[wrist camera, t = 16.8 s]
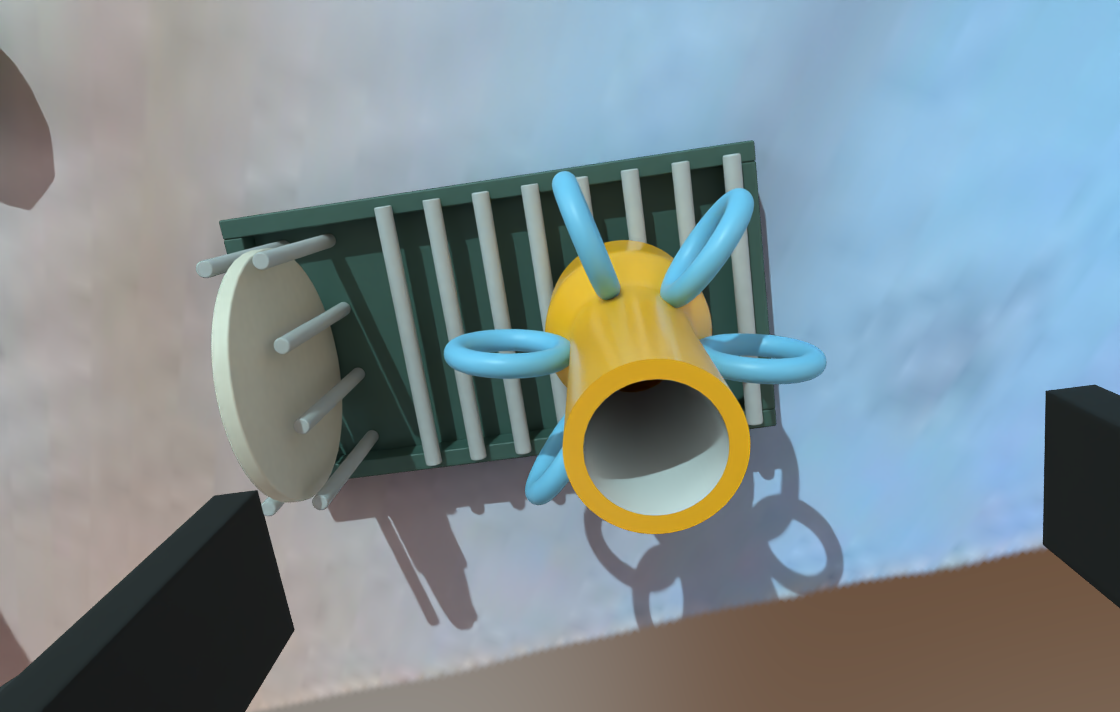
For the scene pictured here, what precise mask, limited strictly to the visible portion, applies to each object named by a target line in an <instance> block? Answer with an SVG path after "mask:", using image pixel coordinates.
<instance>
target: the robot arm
mask: <svg viewBox="0 0 1120 712" xmlns="http://www.w3.org/2000/svg"><path fill="white" fill-rule="evenodd" d="M1043 545H1044V546H1045V547H1046V548H1048V549H1049V550H1050V551H1051V552H1052V553H1054V554H1055V555H1056V556H1057V557H1059V558H1060V559H1061V560H1062V561H1063V562H1065V563H1066V564H1067V565H1068V566H1069V567H1071V568H1072V569H1073V570H1074V571H1075V572H1077V573H1078V574H1079V575H1080V576H1082V577H1083V578H1084V579H1085V580H1086V581H1088V582H1089V583H1090V584H1091V585H1092V586H1094V587H1095V588H1096V589H1097V590H1098V591H1100V592H1101V593H1102V594H1103V595H1105V596H1106V597H1107V598H1108V599H1109V600H1111V601H1112V602H1113V603H1114V604H1115V605H1117V606H1118V607H1119V608H1120V395H1118V394H1115V393H1113V392H1111V391H1108V390H1106V389H1104V388H1101V387H1099V386H1097V385H1089V386H1081V387H1073V388H1065V389H1057V390H1049V391H1046V406H1045V460H1044V513H1043ZM293 632H294V626H293V622H292V619H291V615H290V611H289V607H288V604H287V600H286V596H285V592H284V588H283V585H282V581H281V577H280V573H279V570H278V566H277V562H276V558H275V555H274V551H273V547H272V543H271V540H270V536H269V532H268V528H267V525H266V521H265V517H264V513H263V509H262V506H261V502H260V498H259V494H258V491H257V490H255V491H247V492H239V493H231V494H224V495H216V496H213V497H212V498H211V499H210V500H209V501H208V502H207V503H206V504H205V505H204V506H203V507H201V508H200V509H199V510H198V511H197V512H196V513H195V514H194V515H193V516H192V517H191V518H189V519H188V520H187V521H186V522H185V523H184V524H183V525H182V526H181V527H180V528H179V529H177V530H176V531H175V532H174V533H173V534H172V535H171V536H170V537H169V538H168V539H167V540H165V541H164V542H163V543H162V544H161V545H160V546H159V547H158V548H157V549H156V550H155V551H153V552H152V553H151V554H150V555H149V556H148V557H147V558H146V559H145V560H144V561H143V562H141V563H140V564H139V565H138V566H137V567H136V568H135V569H134V570H133V571H132V572H131V573H129V574H128V575H127V576H126V577H125V578H124V579H123V580H122V581H121V582H120V583H119V584H117V585H116V586H115V587H114V588H113V589H112V590H111V591H110V592H109V593H108V594H107V595H105V596H104V597H103V598H102V599H101V600H100V601H99V602H98V603H97V604H96V605H95V606H93V607H92V608H91V609H90V610H89V611H88V612H87V613H86V614H85V615H84V616H83V617H81V618H80V619H79V620H78V621H77V622H76V623H75V624H74V625H73V626H72V627H71V628H69V629H68V630H67V631H66V632H65V633H64V634H63V635H62V636H61V637H60V638H59V639H57V640H56V641H55V642H54V643H53V644H52V645H51V646H50V647H49V648H48V649H47V650H45V651H44V652H43V653H42V654H41V655H40V656H39V657H38V658H37V659H36V660H35V661H33V662H32V663H31V664H30V665H29V666H28V667H27V668H26V669H25V670H24V671H23V672H21V673H20V674H19V675H18V676H16V677H15V678H13V679H12V680H10V681H9V682H7V683H6V684H4V685H2V686H1V687H0V712H245V711H246V709H247V708H248V706H249V704H250V703H251V701H252V699H253V698H254V696H255V694H256V693H257V691H258V689H259V688H260V686H261V685H262V683H263V681H264V680H265V678H266V676H267V675H268V673H269V671H270V670H271V668H272V666H273V665H274V663H275V661H276V660H277V658H278V657H279V655H280V653H281V652H282V650H283V648H284V647H285V645H286V643H287V642H288V640H289V638H290V637H291V635H292V633H293Z"/></svg>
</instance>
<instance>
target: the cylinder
mask: <svg viewBox="0 0 1120 712" xmlns="http://www.w3.org/2000/svg"><path fill="white" fill-rule="evenodd" d="M552 189H553V192H554V196H555V199H556V201H557V204H558V207H559V210H560V212H561V215H562V217H563V220H564V223H565V225H566V228H567V230H568V232H569V235H570V237H571V240H572V242H573V244H574V247H575V249H576V252H577V254H578V257H576V258H575V259H574V260H573V261H572V262H571V263H570V264H569V265H568V266H567V267H566V269H565V270H564V271H563V273H562V274H561V276H560V277H559V279H558V281H557V283H556V285H555V288H554V290H553V293H552V296H551V300H550V304H549V308H548V312H547V316H546V323H545V332H543V331H536V330H524V329H496V330H485V331H477V332H472V333H467V334H464V335H461V336H458V337H456V338H454V339H452V340H451V341H449V342H448V344H447V345H446V347H445V349H444V358H445V361H446V362H447V364H448V365H449V366H450V367H452V368H453V369H455V370H457V371H459V372H462V373H465V374H468V375H472V376H478V377H485V378H497V379H519V378H532V377H539V376H545V375H549V374H553V373H556V374H557V376H558V377H559V379H560V380H561V382H562V383H563V384H564V385H565V386H566V388H567V398H566V409H565V414H564V416H563V417H562V418H561V420H560V421H559V423H558V424H557V425H556V427H555V428H554V430H553V431H552V433H551V434H550V436H549V438H548V439H547V441H546V443H545V444H544V446H543V448H542V449H541V451H540V453H539V455H538V457H537V459H536V461H535V463H534V465H533V467H532V469H531V471H530V474H529V476H528V479H527V482H526V487H525V494H526V497H527V499H528V500H529V501H530V502H531V503H532V504H535V505H543V504H546V503H547V502H549V501H551V500H552V499H553V498H554V497H555V496H556V495H557V494H558V493H559V492H560V491H561V490H562V489H563V488H564V487H565V485H566V484H567V483H568V481H570V483H571V485H572V487H573V489H574V491H575V492H576V494H577V495H578V497H579V498H580V499H581V500H582V502H583V503H584V504H585V505H586V506H587V507H588V508H589V509H590V510H591V511H592V512H594V513H595V514H596V515H597V516H599V517H600V518H602V519H603V520H605V521H607V522H609V523H610V524H612V525H615V526H617V527H619V528H622V529H625V530H629V531H633V532H638V533H645V534H664V533H672V532H677V531H681V530H684V529H687V528H690V527H693V526H695V525H697V524H699V523H701V522H703V521H705V520H707V519H708V518H710V517H711V516H713V515H714V514H715V513H717V512H718V511H719V510H720V509H721V508H722V507H724V506H725V505H726V503H727V502H728V501H729V500H730V499H731V498H732V496H733V495H734V494H735V492H736V491H737V489H738V488H739V486H740V484H741V482H742V480H743V478H744V475H745V473H746V470H747V466H748V462H749V457H750V433H749V427H748V423H747V420H746V417H745V414H744V412H743V410H742V408H741V406H740V404H739V402H738V401H737V399H736V397H735V396H734V394H733V393H732V391H731V390H730V388H729V386H728V385H727V383H726V382H725V380H724V379H727V380H732V381H738V382H745V383H755V384H791V383H799V382H804V381H808V380H811V379H813V378H816V377H817V376H819V375H820V374H821V373H822V372H823V371H824V369H825V367H826V357H825V355H824V353H823V352H822V351H821V350H820V349H819V348H817V347H816V346H814V345H812V344H809V343H807V342H804V341H800V340H796V339H792V338H787V337H781V336H774V335H765V334H748V333H735V334H720V335H714V336H712V321H711V315H710V311H709V307H708V304H707V302H706V299H705V297H704V295H703V293H702V291H703V290H704V288H705V287H706V286H707V285H708V284H709V283H710V282H711V281H712V279H713V278H714V277H715V276H716V274H717V273H718V272H719V271H720V269H721V268H722V267H723V265H724V264H725V263H726V261H727V260H728V258H729V257H730V255H731V254H732V252H733V251H734V249H735V248H736V246H737V244H738V243H739V241H740V239H741V238H742V236H743V234H744V232H745V230H746V228H747V226H748V224H749V221H750V219H751V216H752V213H753V208H754V200H753V197H752V195H751V194H750V192H748V191H747V190H745V189H742V188H736V189H733V190H730V191H728V192H727V193H725V194H724V195H723V196H722V197H721V198H719V199H718V200H717V201H716V202H715V203H714V204H713V206H712V207H711V208H710V209H709V210H708V211H707V212H706V213H705V215H704V216H703V217H702V218H701V220H700V221H699V222H698V223H697V225H696V226H695V227H694V229H693V230H692V232H691V233H690V234H689V236H688V237H687V239H686V240H685V242H684V243H683V245H682V246H681V248H680V249H679V251H678V252H677V254H676V256H675V257H674V258H673V257H672V256H670V255H669V254H668V253H666V252H665V251H663V250H661V249H659V248H657V247H655V246H653V245H650V244H647V243H644V242H640V241H633V240H617V241H610V242H606V243H603V240H602V238H601V236H600V233H599V231H598V228H597V226H596V223H595V221H594V219H593V216H592V214H591V211H590V209H589V207H588V204H587V202H586V200H585V197H584V195H583V193H582V190H581V188H580V186H579V184H578V181H577V179H576V178H575V176H574V175H573V174H572V173H570V172H568V171H562V172H559V173H557V174H556V175H555V176H554V178H553V181H552ZM499 351H523V352H529V353H488V352H499ZM742 356H760V357H769V358H776V359H765V358H751V357H742Z"/></svg>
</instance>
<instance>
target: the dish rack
mask: <svg viewBox="0 0 1120 712" xmlns="http://www.w3.org/2000/svg"><path fill="white" fill-rule="evenodd" d="M562 171H568V172H570V173H572V174H573V175H574V176H575V178H576V179H577V181H578V184H579V186H580V188H581V190H582V193H583V195H584V197H585V200H586V202H587V204H588V207H589V209H590V211H591V214H592V216H593V219H594V221H595V223H596V226H597V228H598V231H599V233H600V236H601V238H602V240H603V243H606V242H610V241H617V240H633V241H640V242H644V243H647V244H650V245H653V246H655V247H657V248H659V249H661V250H663V251H665V252H666V253H668V254H669V255H670V256H672V257H673V258H674V257H675V256H676V254H677V252H678V251H679V249H680V248H681V246H682V245H683V243H684V242H685V240H686V239H687V237H688V236H689V234H690V233H691V232H692V230H693V229H694V227H695V226H696V225H697V223H698V222H699V221H700V220H701V218H702V217H703V216H704V215H705V213H706V212H707V211H708V210H709V209H710V208H711V207H712V206H713V204H714V203H715V202H716V201H717V200H718V199H719V198H721V197H722V196H723V195H724V194H725V193H727V192H728V191H730V190H733V189H736V188H742V189H745V190H747V191H748V192H750V194H751V195H752V197H753V200H754V208H753V213H752V216H751V219H750V221H749V224H748V226H747V228H746V230H745V232H744V234H743V236H742V238H741V239H740V241H739V243H738V244H737V246H736V248H735V249H734V251H733V252H732V254H731V255H730V257H729V258H728V260H727V261H726V263H725V264H724V265H723V267H722V268H721V269H720V271H719V272H718V273H717V274H716V276H715V277H714V278H713V279H712V281H711V282H710V283H709V284H708V285H707V286H706V287H705V288H704V290H703V291H702V293H703V295H704V297H705V299H706V302H707V304H708V307H709V311H710V315H711V321H712V336H714V335H720V334H735V333H748V334H765V335H769V323H768V310H767V298H766V285H765V273H764V260H763V247H762V235H761V222H760V209H759V197H758V184H757V171H756V162H755V146H754V141H744V142H737V143H730V144H724V145H717V146H710V147H704V148H697V149H691V150H684V151H677V152H671V153H664V154H657V155H651V156H644V157H638V158H631V159H624V160H618V161H611V162H604V163H598V164H591V165H585V166H578V167H571V168H565V169H558V170H551V171H545V172H538V173H532V174H525V175H518V176H512V177H505V178H498V179H492V180H485V181H479V182H472V183H465V184H459V185H452V186H445V187H439V188H432V189H426V190H419V191H412V192H406V193H399V194H392V195H386V196H379V197H373V198H366V199H359V200H353V201H346V202H339V203H333V204H326V205H320V206H313V207H306V208H300V209H293V210H286V211H280V212H273V213H266V214H260V215H253V216H247V217H240V218H234V219H228V220H221V221H219V224H220V228H221V231H222V235H223V239H224V244H225V247H226V251H227V255H223V256H219V257H215V258H211V259H207V260H203V261H200V262H199V263H198V264H197V266H196V271H197V273H198V275H199V276H201V277H203V278H209V277H213V276H216V275H219V274H222V273H226V274H225V276H224V278H223V280H222V283H221V285H220V288H219V291H218V295H217V299H216V303H215V308H214V315H213V321H212V337H211V352H212V369H213V379H214V386H215V392H216V398H217V402H218V407H219V411H220V415H221V419H222V422H223V425H224V428H225V432H226V435H227V437H228V440H229V442H230V445H231V447H232V450H233V452H234V454H235V456H236V458H237V460H238V462H239V464H240V466H241V467H242V469H243V470H244V472H245V473H246V475H247V476H248V478H249V479H250V480H251V481H252V483H253V484H254V485H255V486H256V487H257V488H258V489H259V490H260V491H261V492H262V493H264V494H265V495H266V496H268V498H267V499H266V500H265V501H264V502H263V503H262V504H261V506H262V509H263V513H264V515H265V516H272V515H274V514H275V513H276V512H277V511H278V510H279V509H280V507H281V506H282V505H283V504H284V503H285V502H297V501H303V500H307V499H310V498H311V497H313V496H314V495H316V496H315V497H314V498H313V501H312V503H313V506H314V507H315V508H316V509H318V510H324V509H326V508H327V507H328V505H329V504H330V503H331V501H332V500H333V499H334V497H335V496H336V495H337V493H338V492H339V491H340V489H341V488H342V487H343V485H344V484H345V483H346V481H347V480H348V479H350V478H358V477H366V476H374V475H383V474H391V473H399V472H407V471H415V470H423V469H431V468H439V467H447V466H455V465H463V464H471V463H479V462H487V461H495V460H503V459H511V458H519V457H527V456H535V455H539V453H540V451H541V449H542V448H543V446H544V444H545V443H546V441H547V439H548V438H549V436H550V434H551V433H552V431H553V430H554V428H555V427H556V425H557V424H558V423H559V421H560V420H561V418H562V417H563V416H564V414H565V409H566V398H567V388H566V386H565V385H564V384H563V383H562V382H561V380H560V379H559V377H558V376H557V374H556V373H553V374H549V375H545V376H539V377H532V378H519V379H497V378H485V377H478V376H472V375H468V374H465V373H462V372H459V371H457V370H455V369H453V368H452V367H450V366H449V365H448V364H447V362H446V361H445V358H444V349H445V347H446V345H447V344H448V342H449V341H451V340H452V339H454V338H456V337H458V336H461V335H464V334H467V333H472V332H477V331H485V330H496V329H524V330H536V331H543V332H545V323H546V316H547V312H548V308H549V304H550V300H551V296H552V293H553V290H554V288H555V285H556V283H557V281H558V279H559V277H560V276H561V274H562V273H563V271H564V270H565V269H566V267H567V266H568V265H569V264H570V263H571V262H572V261H573V260H574V259H575V258H576V257H578V254H577V252H576V249H575V247H574V244H573V242H572V240H571V237H570V235H569V232H568V230H567V228H566V225H565V223H564V220H563V217H562V215H561V212H560V210H559V207H558V204H557V201H556V199H555V196H554V192H553V189H552V181H553V178H554V176H555V175H556V174H557V173H559V172H562ZM488 353H529V352H523V351H499V352H488ZM742 357H751V358H765V359H771V358H769V357H760V356H742ZM724 380H725V382H726V383H727V385H728V386H729V388H730V390H731V391H732V393H733V394H734V396H735V397H736V399H737V401H738V402H739V404H740V406H741V408H742V410H743V412H744V414H745V417H746V420H747V423H748V427H749V429H753V428H761V427H769V426H775V425H776V412H775V409H774V408H775V399H774V386H773V384H755V383H745V382H738V381H732V380H727V379H724Z"/></svg>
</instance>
